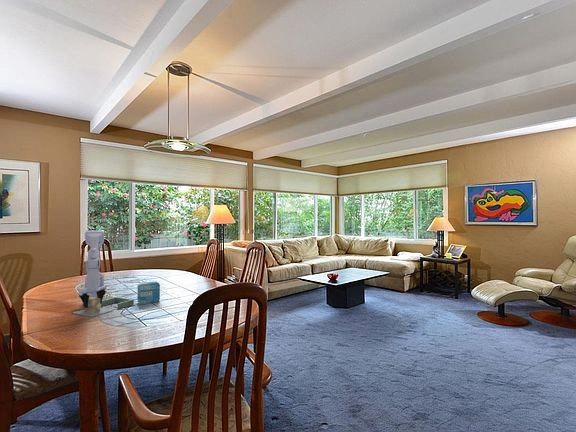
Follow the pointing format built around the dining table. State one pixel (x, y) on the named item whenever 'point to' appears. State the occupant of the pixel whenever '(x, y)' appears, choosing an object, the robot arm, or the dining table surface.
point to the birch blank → (93, 305)
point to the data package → (148, 292)
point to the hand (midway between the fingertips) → (92, 305)
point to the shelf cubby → (121, 302)
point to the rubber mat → (82, 312)
